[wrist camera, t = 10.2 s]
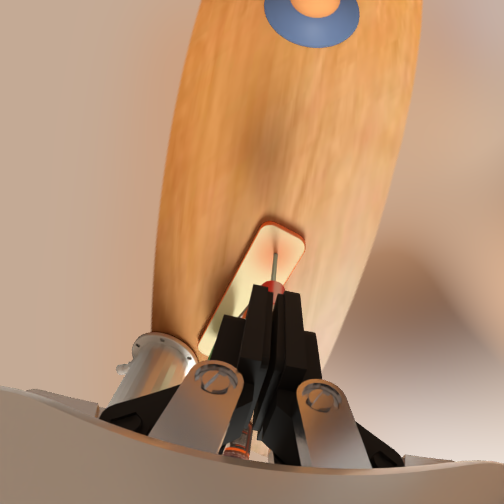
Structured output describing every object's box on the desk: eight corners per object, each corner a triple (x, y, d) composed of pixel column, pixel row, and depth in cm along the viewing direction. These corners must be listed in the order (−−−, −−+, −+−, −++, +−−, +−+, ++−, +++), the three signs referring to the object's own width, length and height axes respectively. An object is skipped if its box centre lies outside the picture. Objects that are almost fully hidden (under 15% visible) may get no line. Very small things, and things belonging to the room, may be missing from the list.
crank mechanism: (265, 216, 40) (247, 290, 23) (309, 239, 41) (323, 326, 23) (196, 345, 50) (161, 436, 32) (231, 361, 51) (209, 455, 33)
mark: (287, 59, 32) (287, 59, 32) (249, -13, 28) (249, -14, 28) (374, 36, 29) (374, 35, 29) (334, -35, 25) (334, -35, 25)
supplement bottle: (223, 417, 57) (213, 461, 47) (251, 418, 56) (245, 463, 46) (227, 432, 60) (219, 474, 49) (254, 433, 59) (248, 476, 48)
